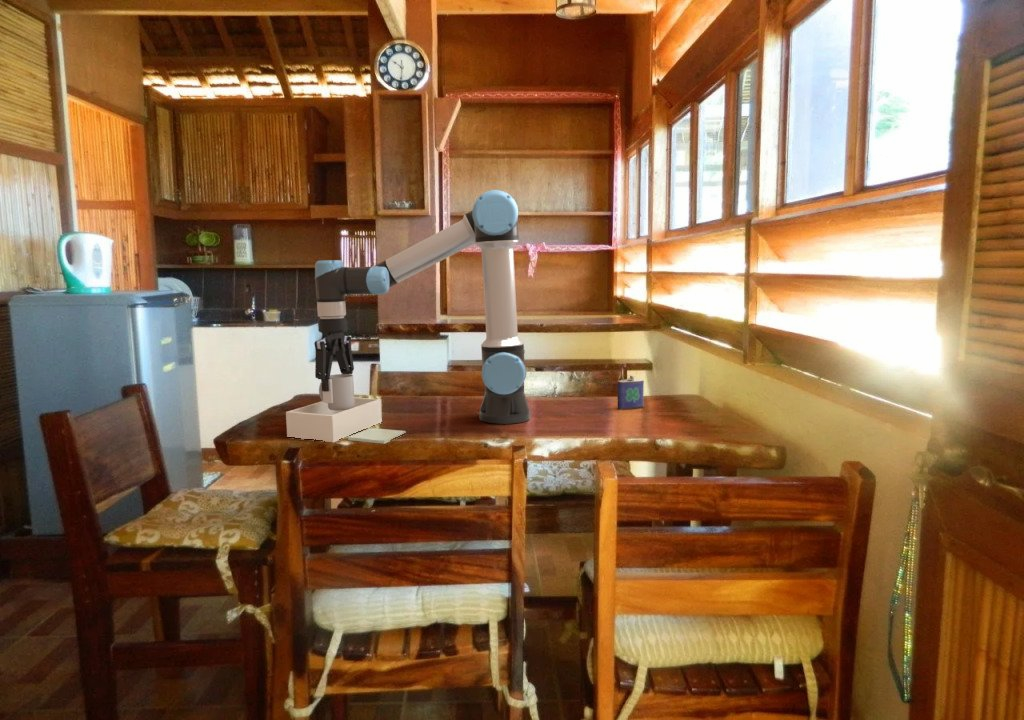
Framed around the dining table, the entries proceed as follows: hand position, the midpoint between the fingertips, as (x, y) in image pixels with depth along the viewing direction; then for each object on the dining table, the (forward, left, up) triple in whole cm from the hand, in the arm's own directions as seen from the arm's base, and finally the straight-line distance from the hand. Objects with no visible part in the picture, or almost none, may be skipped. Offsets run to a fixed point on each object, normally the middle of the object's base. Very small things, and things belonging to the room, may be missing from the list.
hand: (336, 399), depth 189 cm
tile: (-15, +3, -8) cm, 17 cm away
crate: (0, 0, -8) cm, 9 cm away
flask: (-71, -56, -9) cm, 91 cm away
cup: (0, 0, -2) cm, 2 cm away
